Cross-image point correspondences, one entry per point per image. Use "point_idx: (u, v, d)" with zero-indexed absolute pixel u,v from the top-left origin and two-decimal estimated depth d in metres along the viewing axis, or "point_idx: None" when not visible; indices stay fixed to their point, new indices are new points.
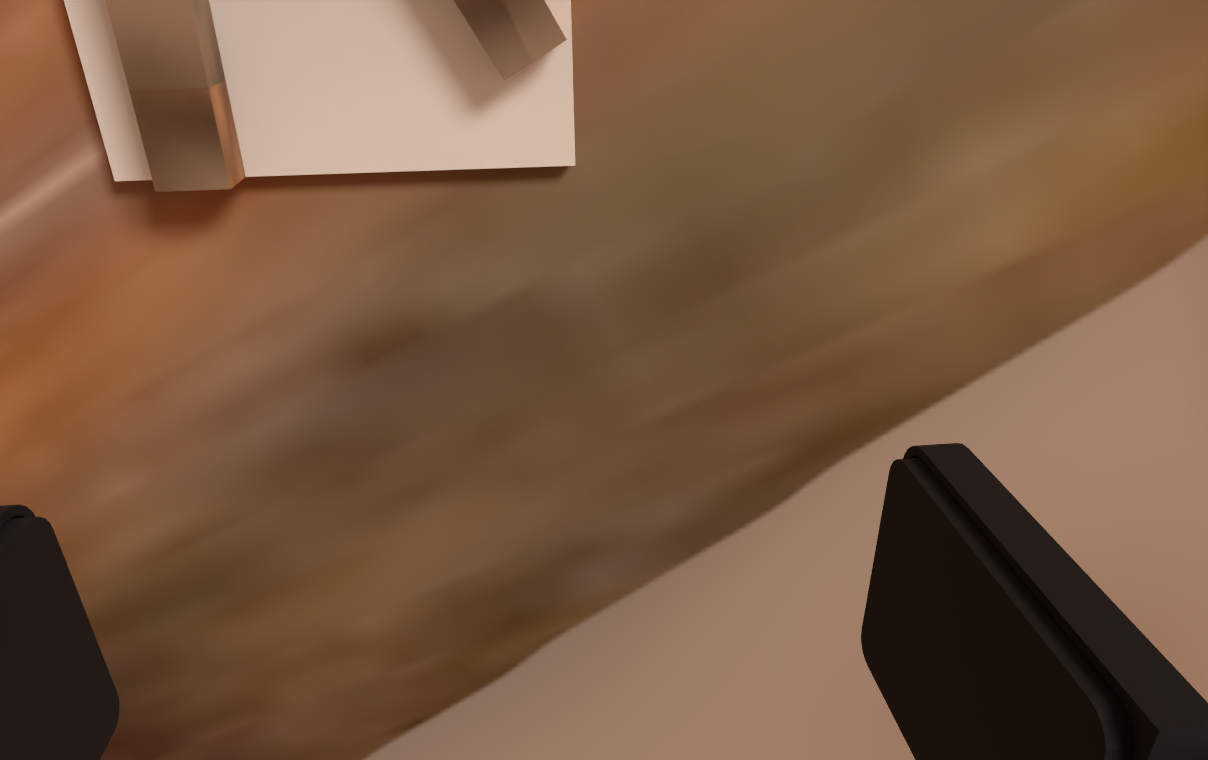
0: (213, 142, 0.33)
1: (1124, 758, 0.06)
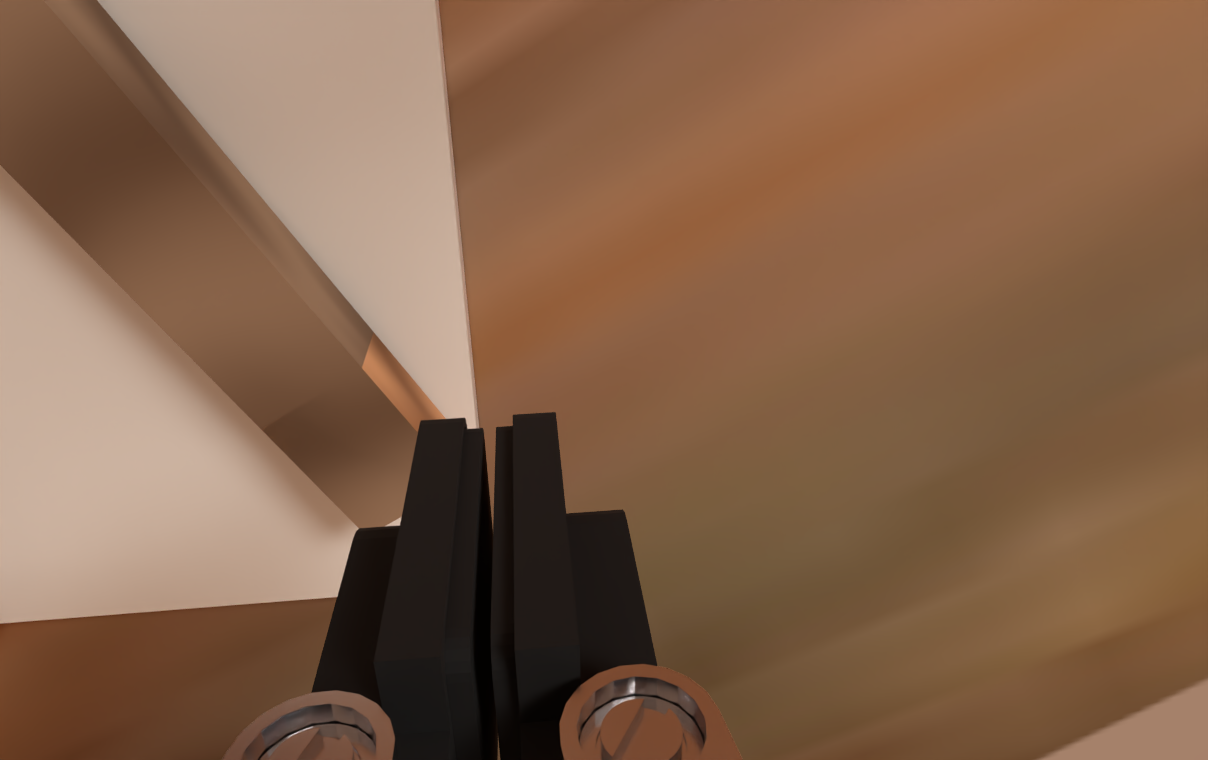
0: None
1: (511, 678, 0.07)
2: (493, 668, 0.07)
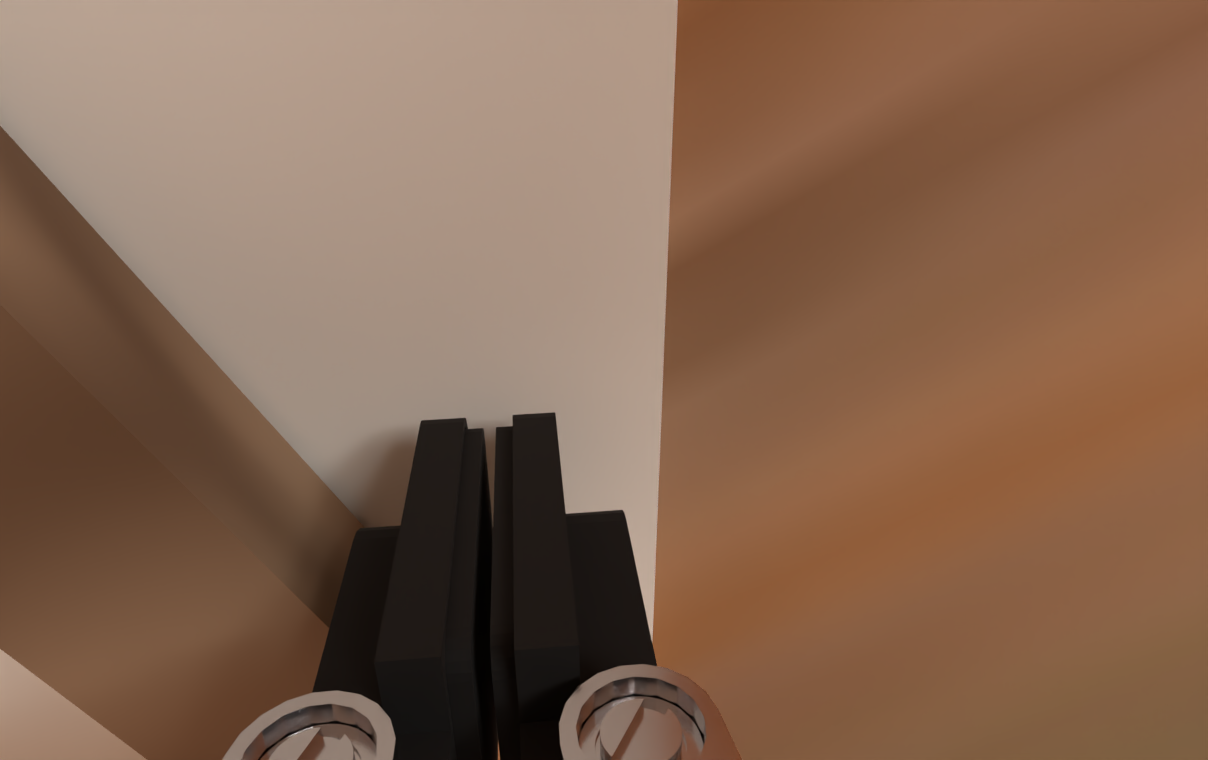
0: None
1: (511, 678, 0.07)
2: (494, 668, 0.07)
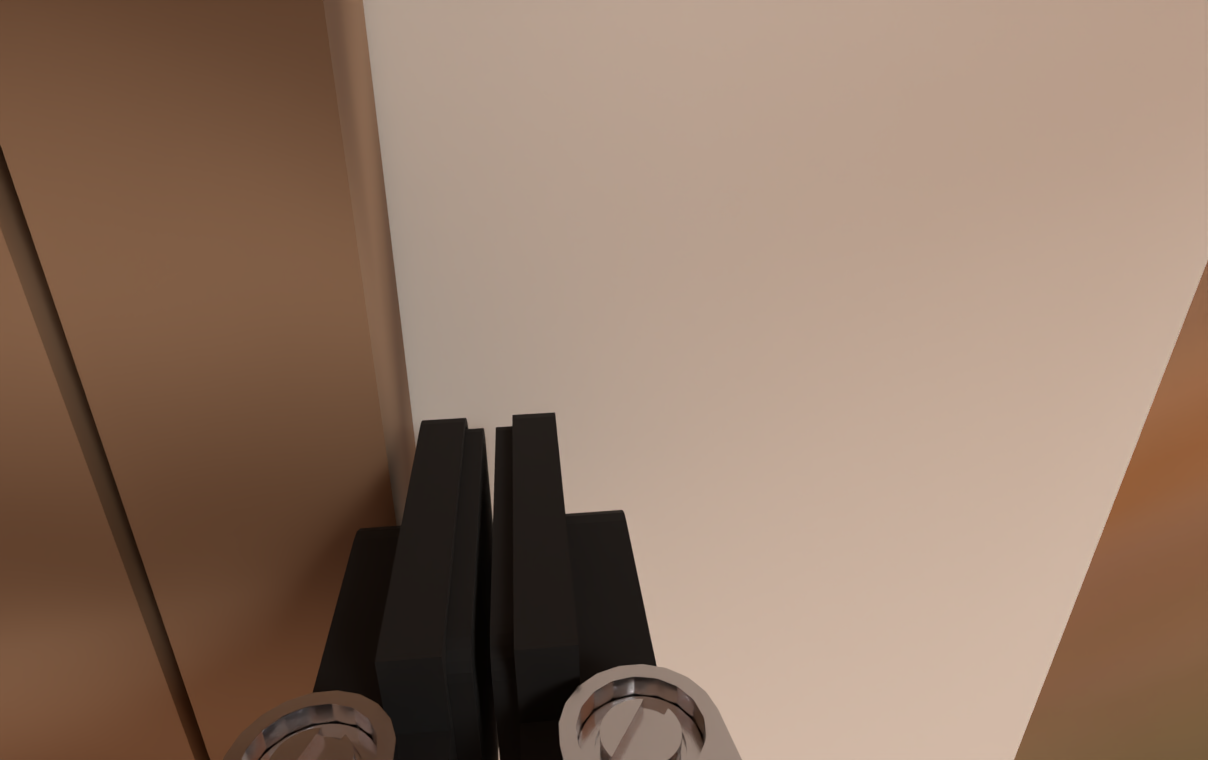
0: None
1: (511, 678, 0.07)
2: (494, 669, 0.07)
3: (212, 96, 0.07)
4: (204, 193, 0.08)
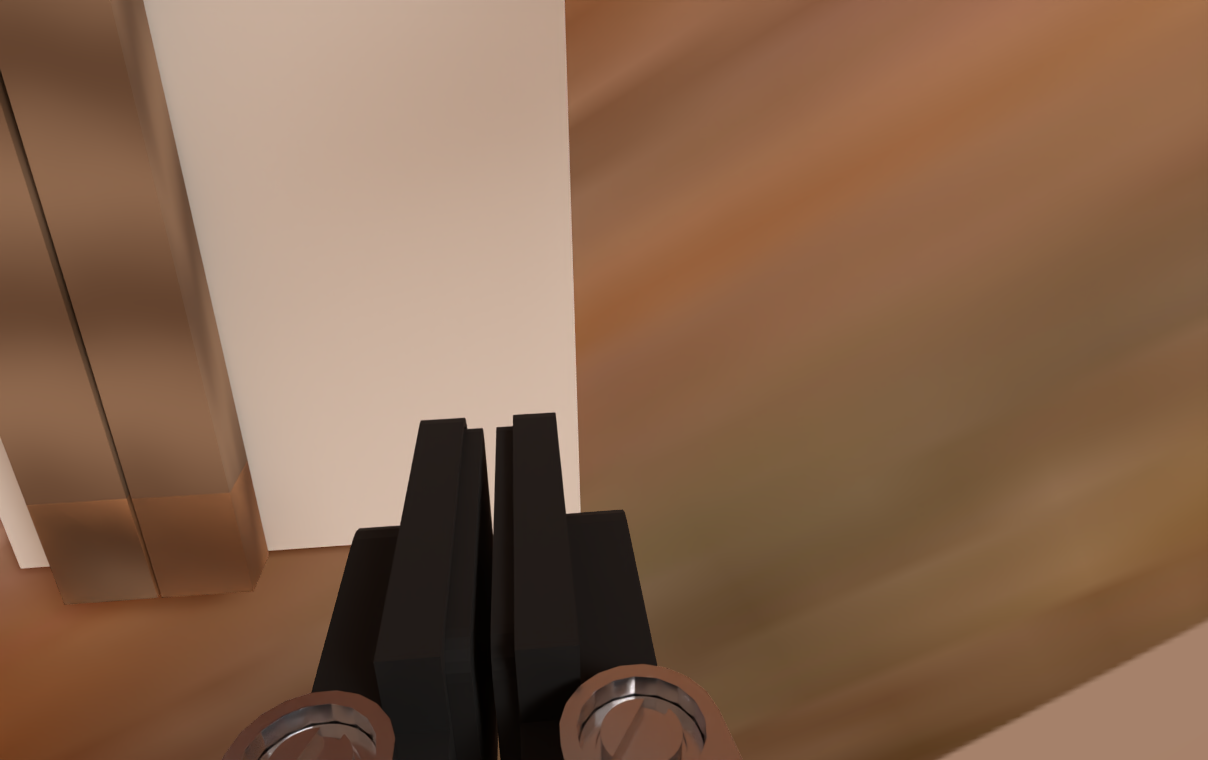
0: (134, 552, 0.27)
1: (511, 678, 0.07)
2: (493, 669, 0.07)
3: (94, 117, 0.21)
4: (93, 152, 0.22)
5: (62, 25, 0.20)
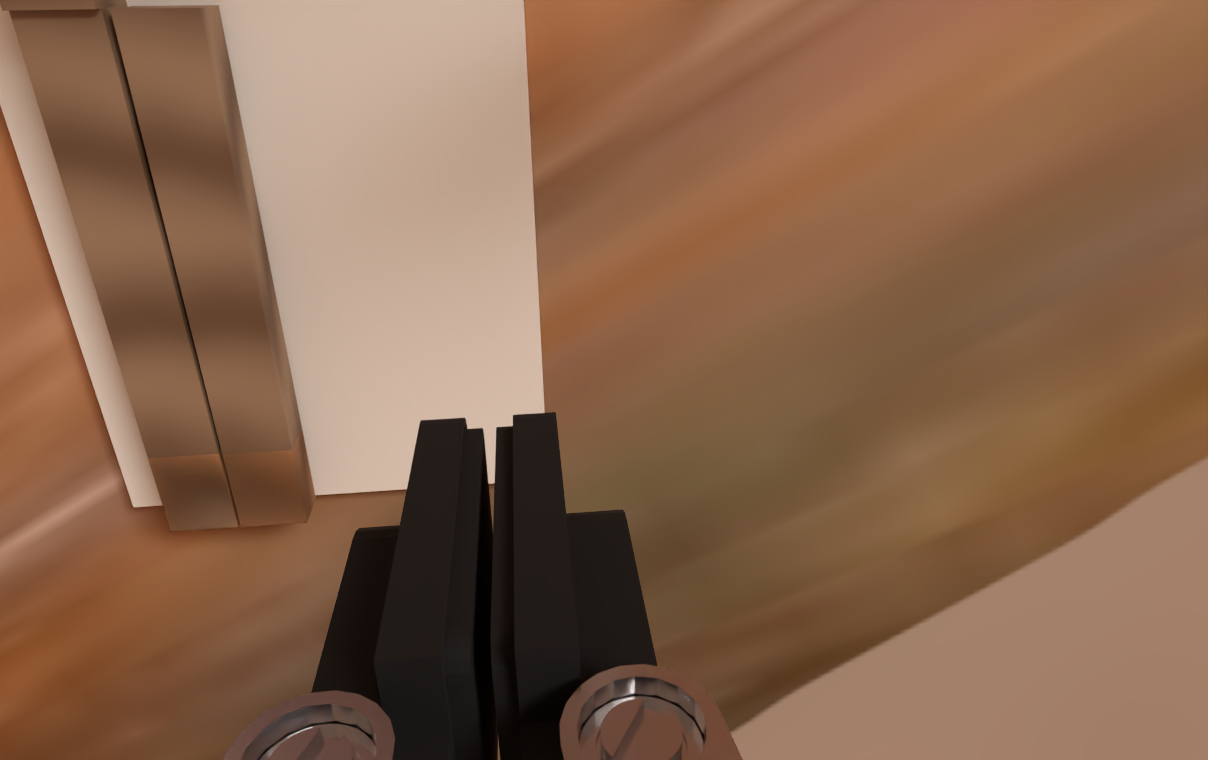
0: (222, 493, 0.37)
1: (511, 678, 0.07)
2: (493, 669, 0.07)
3: (209, 193, 0.31)
4: (207, 215, 0.32)
5: (191, 133, 0.30)
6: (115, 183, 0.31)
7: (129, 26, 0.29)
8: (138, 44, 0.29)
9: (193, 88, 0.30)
